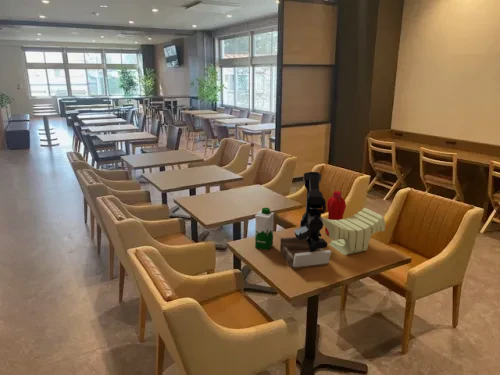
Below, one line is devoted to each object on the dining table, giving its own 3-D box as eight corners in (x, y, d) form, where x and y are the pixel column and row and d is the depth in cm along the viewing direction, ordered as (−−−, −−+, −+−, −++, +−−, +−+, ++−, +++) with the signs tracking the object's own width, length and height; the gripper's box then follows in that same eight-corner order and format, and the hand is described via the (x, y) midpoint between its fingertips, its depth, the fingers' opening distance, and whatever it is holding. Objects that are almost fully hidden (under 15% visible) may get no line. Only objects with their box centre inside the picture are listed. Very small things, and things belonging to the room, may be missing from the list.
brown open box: (280, 252, 190) (280, 238, 188) (313, 249, 194) (314, 234, 192) (291, 268, 174) (292, 252, 172) (327, 264, 178) (328, 248, 176)
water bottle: (331, 239, 206) (334, 195, 199) (323, 231, 216) (325, 189, 209) (347, 237, 208) (350, 194, 201) (337, 230, 218) (341, 188, 211)
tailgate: (292, 264, 174) (294, 253, 170) (327, 261, 177) (329, 249, 174) (293, 267, 172) (296, 255, 169) (328, 263, 176) (331, 252, 172)
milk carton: (274, 244, 199) (275, 208, 194) (268, 251, 191) (269, 214, 186) (259, 241, 203) (259, 206, 197) (252, 248, 195) (253, 211, 189)
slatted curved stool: (333, 260, 183) (336, 226, 178) (315, 247, 197) (317, 215, 192) (382, 249, 194) (386, 217, 189) (361, 238, 208) (364, 207, 203)
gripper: (289, 215, 175) (288, 246, 180) (304, 232, 158) (302, 265, 162) (312, 214, 177) (310, 244, 182) (329, 230, 160) (326, 262, 165)
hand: (311, 253), depth 173 cm, fingers closed
